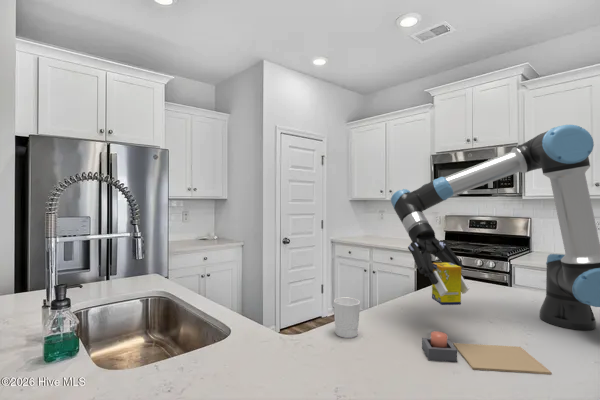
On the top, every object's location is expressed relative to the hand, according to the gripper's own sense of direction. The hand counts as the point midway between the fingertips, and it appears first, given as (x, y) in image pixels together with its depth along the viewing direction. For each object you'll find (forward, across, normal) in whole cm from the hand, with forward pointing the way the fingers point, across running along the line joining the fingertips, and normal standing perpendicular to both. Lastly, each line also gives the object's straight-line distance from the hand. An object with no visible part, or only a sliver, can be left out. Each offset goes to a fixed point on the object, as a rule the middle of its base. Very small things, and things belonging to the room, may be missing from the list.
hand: (455, 292), depth 97 cm
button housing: (+13, +8, -9) cm, 17 cm away
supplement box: (0, 0, -5) cm, 5 cm away
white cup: (-1, +25, -23) cm, 34 cm away
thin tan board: (+17, -6, -4) cm, 19 cm away
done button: (+11, +8, -7) cm, 16 cm away
